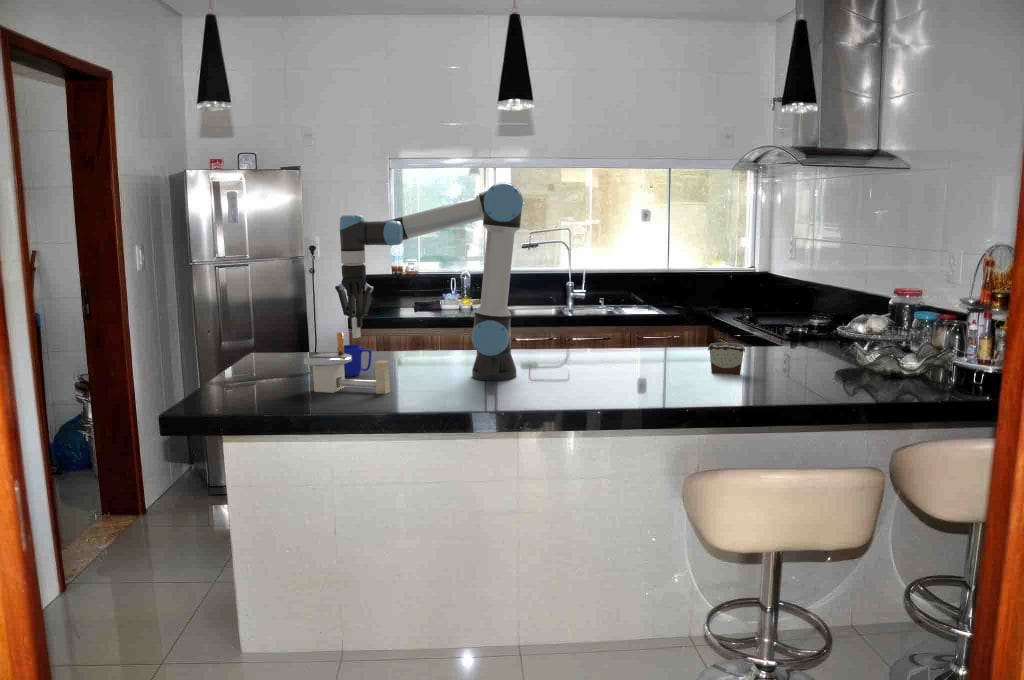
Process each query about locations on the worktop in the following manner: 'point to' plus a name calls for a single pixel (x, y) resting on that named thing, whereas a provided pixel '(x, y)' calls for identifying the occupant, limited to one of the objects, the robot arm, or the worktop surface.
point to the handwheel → (330, 356)
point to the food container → (726, 358)
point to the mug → (355, 360)
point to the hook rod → (380, 384)
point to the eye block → (327, 378)
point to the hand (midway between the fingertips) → (356, 337)
